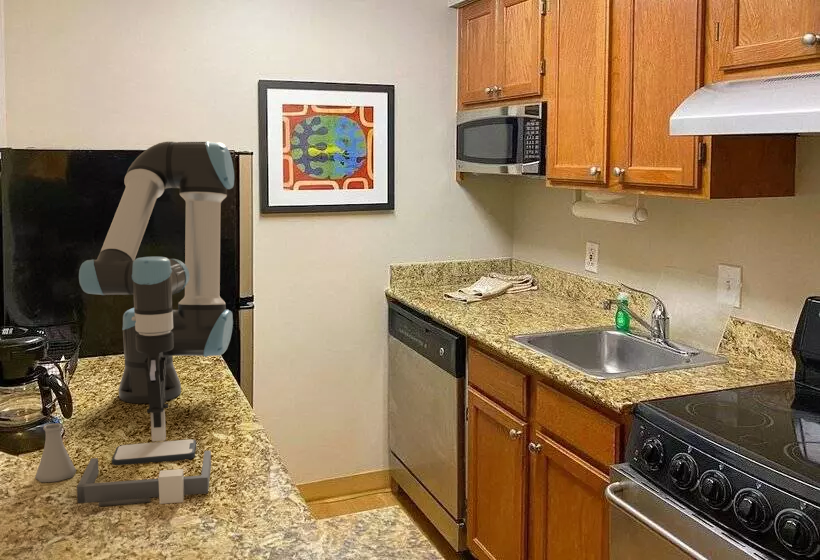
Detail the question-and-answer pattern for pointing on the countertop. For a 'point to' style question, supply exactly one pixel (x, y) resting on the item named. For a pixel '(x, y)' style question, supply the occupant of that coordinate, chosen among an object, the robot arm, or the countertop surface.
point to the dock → (143, 486)
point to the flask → (54, 457)
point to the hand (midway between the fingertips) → (158, 439)
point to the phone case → (154, 452)
